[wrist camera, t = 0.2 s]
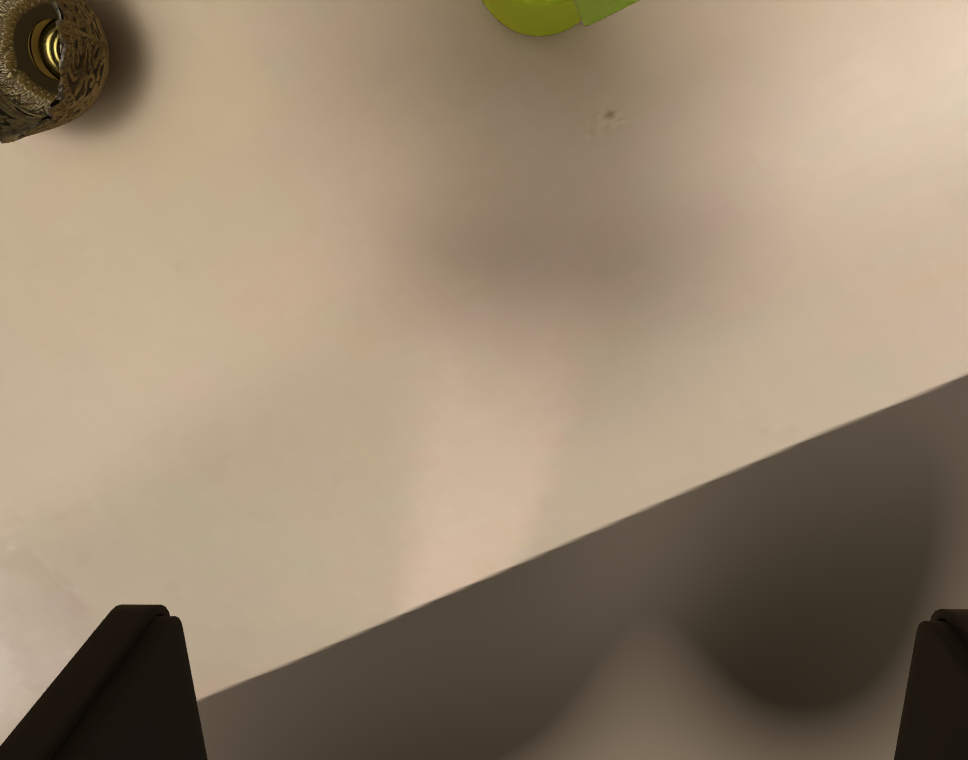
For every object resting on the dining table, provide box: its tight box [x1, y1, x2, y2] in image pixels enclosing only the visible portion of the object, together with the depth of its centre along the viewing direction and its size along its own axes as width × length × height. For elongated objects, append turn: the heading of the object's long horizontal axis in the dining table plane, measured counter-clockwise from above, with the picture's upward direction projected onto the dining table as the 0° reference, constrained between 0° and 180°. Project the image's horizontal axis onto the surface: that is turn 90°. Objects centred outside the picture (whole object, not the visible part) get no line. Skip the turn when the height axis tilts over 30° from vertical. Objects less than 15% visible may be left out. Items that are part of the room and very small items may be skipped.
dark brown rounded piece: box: [0, 0, 109, 143], centre depth 33 cm, size 8×7×8 cm
